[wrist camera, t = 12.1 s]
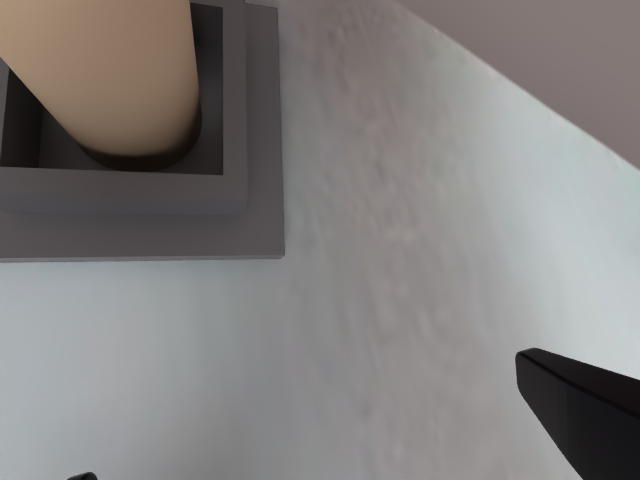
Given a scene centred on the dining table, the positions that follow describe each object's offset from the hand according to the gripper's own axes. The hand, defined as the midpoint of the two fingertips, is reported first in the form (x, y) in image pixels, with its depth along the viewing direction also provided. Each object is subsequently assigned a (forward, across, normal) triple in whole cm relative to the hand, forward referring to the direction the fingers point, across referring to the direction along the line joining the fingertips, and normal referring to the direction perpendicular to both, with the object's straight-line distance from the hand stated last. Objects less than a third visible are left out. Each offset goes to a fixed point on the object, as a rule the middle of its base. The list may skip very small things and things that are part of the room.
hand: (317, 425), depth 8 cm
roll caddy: (+15, +6, -8) cm, 18 cm away
